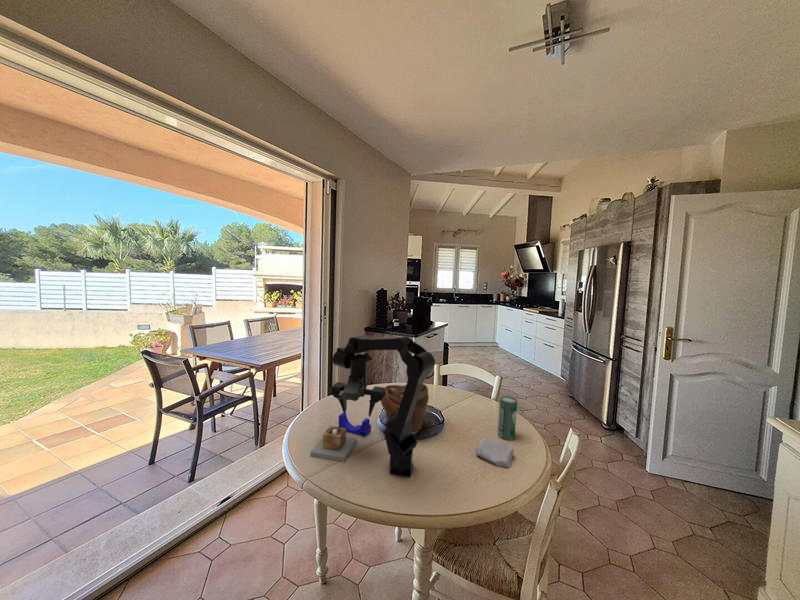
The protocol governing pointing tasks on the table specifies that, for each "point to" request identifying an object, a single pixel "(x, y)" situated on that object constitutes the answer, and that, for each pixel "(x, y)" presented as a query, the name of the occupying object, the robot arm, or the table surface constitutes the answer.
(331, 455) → the post stand
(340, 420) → the blue curved bracket
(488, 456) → the stone block
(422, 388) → the brown pot
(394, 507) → the table surface
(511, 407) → the can
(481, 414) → the table surface
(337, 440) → the wooden hollow block
